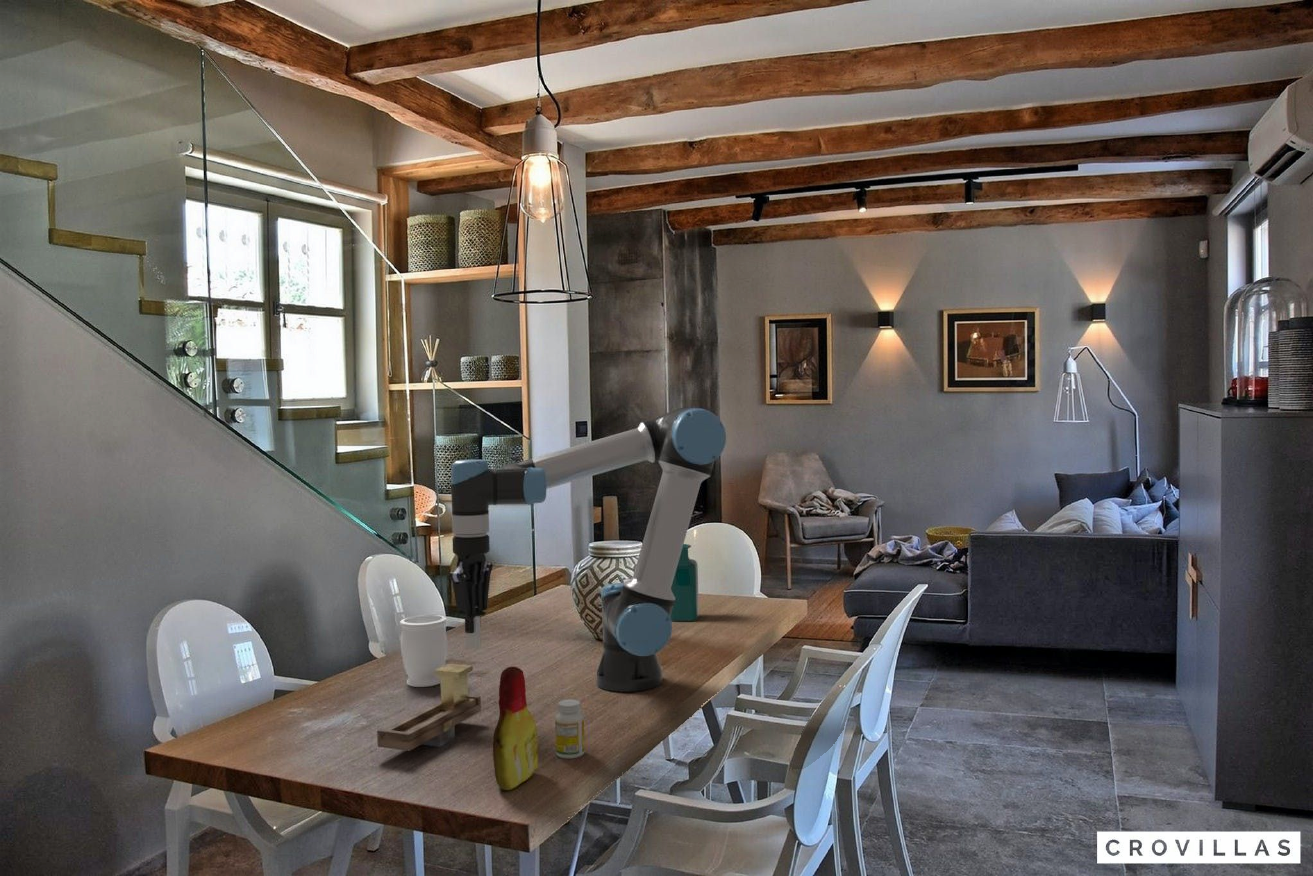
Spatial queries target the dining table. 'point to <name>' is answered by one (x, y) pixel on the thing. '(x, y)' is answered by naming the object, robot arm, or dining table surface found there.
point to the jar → (423, 648)
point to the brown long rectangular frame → (428, 726)
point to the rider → (453, 684)
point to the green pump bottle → (685, 589)
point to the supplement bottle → (569, 730)
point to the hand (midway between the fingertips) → (473, 647)
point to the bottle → (514, 733)
